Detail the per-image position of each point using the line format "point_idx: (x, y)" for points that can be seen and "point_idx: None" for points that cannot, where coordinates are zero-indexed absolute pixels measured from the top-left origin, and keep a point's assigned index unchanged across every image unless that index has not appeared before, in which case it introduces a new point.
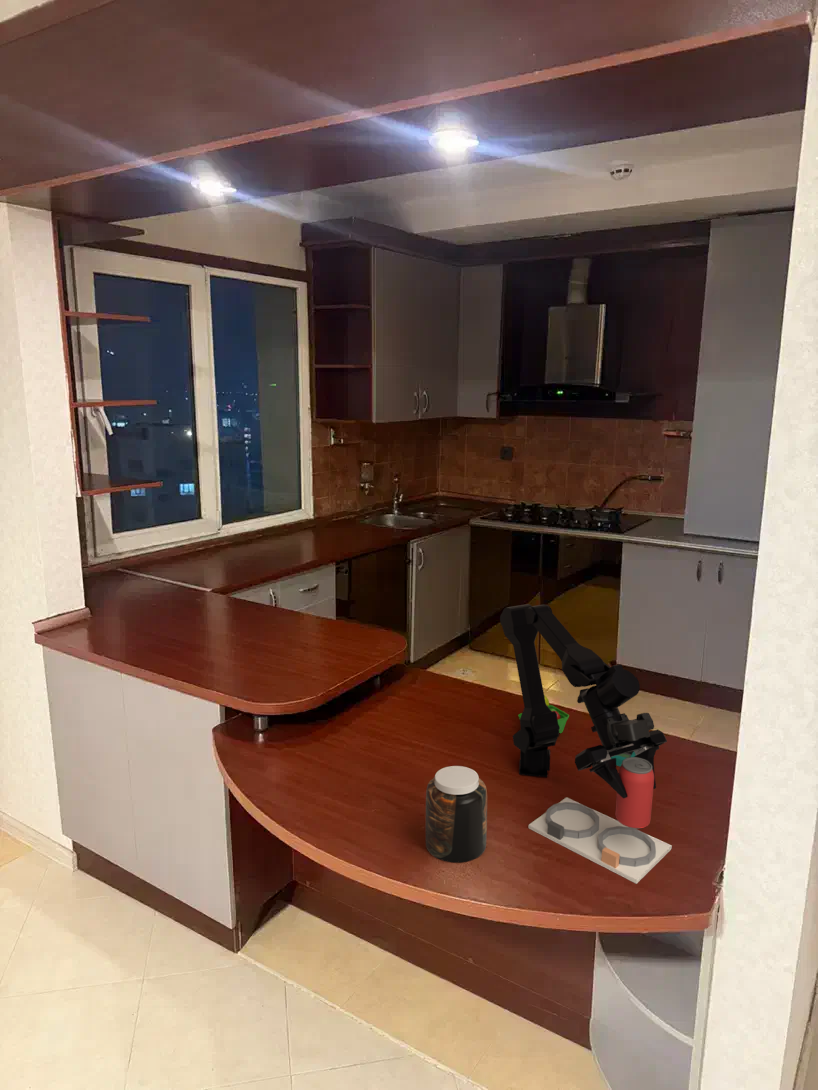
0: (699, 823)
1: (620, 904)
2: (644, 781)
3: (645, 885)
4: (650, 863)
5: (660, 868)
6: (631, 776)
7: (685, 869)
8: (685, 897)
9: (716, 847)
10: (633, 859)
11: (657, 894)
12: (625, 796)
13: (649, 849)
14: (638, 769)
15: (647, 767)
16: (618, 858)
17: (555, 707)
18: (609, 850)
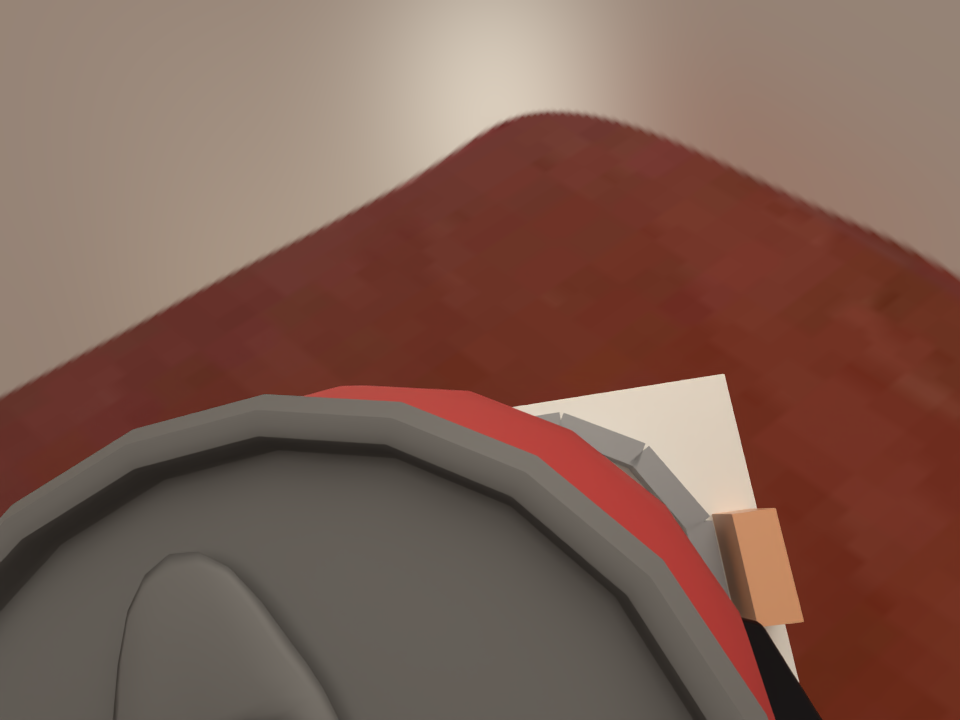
0: (24, 480)
1: (918, 330)
2: (539, 424)
3: (686, 345)
4: (546, 413)
5: (510, 380)
6: (761, 704)
7: (418, 303)
8: (594, 189)
9: (155, 314)
10: (643, 461)
11: (689, 271)
12: (760, 632)
13: None
14: (441, 717)
15: (155, 574)
16: (735, 512)
17: None
18: (761, 583)
